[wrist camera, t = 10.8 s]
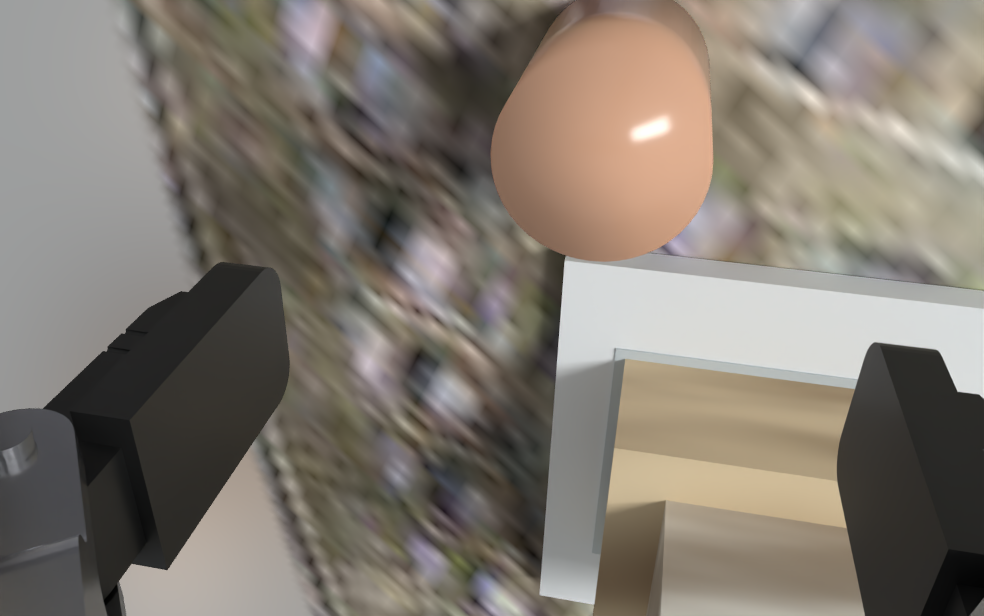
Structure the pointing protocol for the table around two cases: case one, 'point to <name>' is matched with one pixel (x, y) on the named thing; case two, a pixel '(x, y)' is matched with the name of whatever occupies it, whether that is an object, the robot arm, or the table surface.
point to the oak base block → (712, 461)
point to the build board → (714, 360)
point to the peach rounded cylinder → (608, 131)
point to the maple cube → (750, 566)
